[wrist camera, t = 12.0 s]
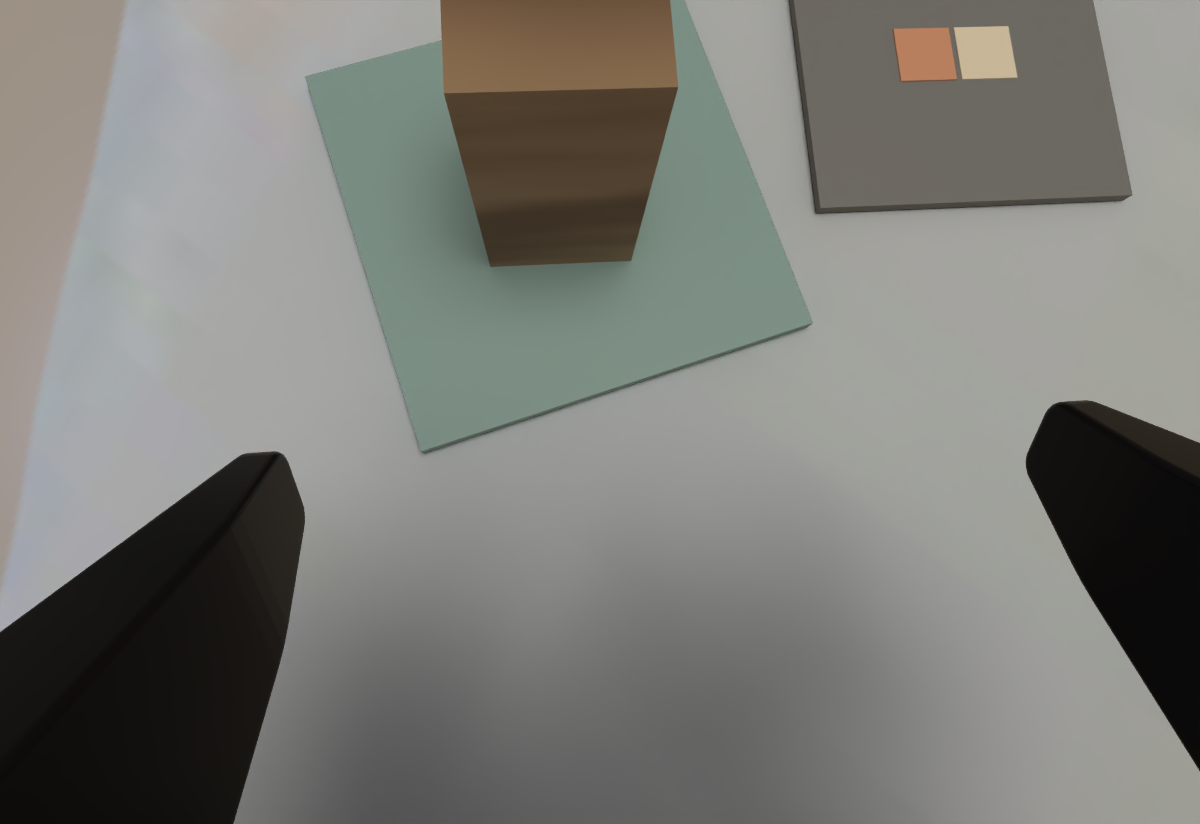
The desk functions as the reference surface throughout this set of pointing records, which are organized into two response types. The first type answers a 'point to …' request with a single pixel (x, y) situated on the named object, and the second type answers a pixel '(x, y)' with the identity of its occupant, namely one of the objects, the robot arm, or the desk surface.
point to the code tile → (956, 104)
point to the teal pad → (554, 291)
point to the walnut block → (559, 121)
